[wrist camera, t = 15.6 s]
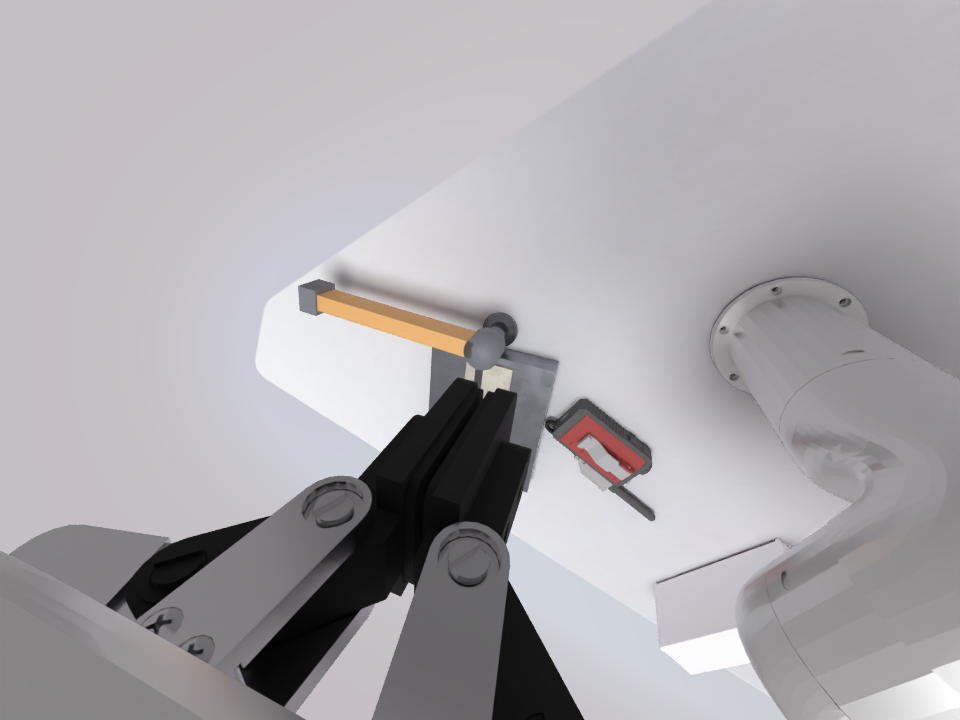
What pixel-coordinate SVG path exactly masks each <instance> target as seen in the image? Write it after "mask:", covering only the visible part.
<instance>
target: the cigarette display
mask: <svg viewBox="0 0 960 720" xmlns="http://www.w3.org/2000/svg"><path fill="white" fill-rule="evenodd" d="M788 550H789V548H788V547H787V546H786V545H785V544H784V543H783V542H782V541H780V540H779V539H778V538H777V539H775V541H774V542H771V543H769V544H766V545H763V546H760V547H758V548H755V549H752V550H749V551H747V552H744V553H741V554H738V555H736V556H733V557H730V558H727V559H725V560H722V561H719V562H716V563H714V564H711V565H708V566H705V567H703V568H700V569H697V570H694V571H692V572H689V573H686V574H683V575H680V576H678V577H675V578H672V579H669V580H667V581H664V582H661V583H657V582H655V583H654V588H655V600H656V613H657V625H658V637H659V648H660V649H661V650H662V651H663V652H664V653H667V654H668V655H669V656H671V657H672V658H673V659H674V660H675V661H676V662H677V663H678V664H679V665H681V666H682V667H683V668H684V669H685V670H686V671H687V672H688V673H690V674H691V675H692V674H697V673H702V672H707V671H712V670H717V669H722V668H727V667H732V666H737V665H742V664H747V663H751V662H750V660H749V658H748V656H747V654H746V652H745V650H744V647H743V645H742V642H741V639H740V637H739V633H738V630H737V625H736V619H735V604H736V599H737V596H738V594H739V592H740V590H741V588H742V586H743V585H744V584H745V583H746V582H747V580H748V579H749V578H750V577H751V576H753V575H754V574H755V573H756V572H758V571H759V570H760V569H761V568H763V567H764V566H766V565H767V564H769V563H770V562H772V561H773V560H775V559H776V558H777V557H779V556H780V555H782V554H783V553H785V552H786V551H788Z"/></svg>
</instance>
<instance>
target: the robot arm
mask: <svg viewBox="0 0 960 720" xmlns="http://www.w3.org/2000/svg"><path fill="white" fill-rule="evenodd" d="M774 287H777V288H776V290H774V291H771V290H772V289H773V288H774ZM842 299H843V301H842V302H840V301H841V300H842ZM839 302H840V303H839ZM723 326H725V328H724V329H723V330H721V329H720V328H721V327H723ZM710 352H711V357H712V360H713V362H714V364H715V367H716V368H717V370H718V371H719V373H720V374H721V376H722V377H723V378H724V379H725V380H726V381H727V382H728V383H730V384H731V385H733V386H734V387H736V388H738V389H739V390H742V391H744V392H746V393H749V394H752V395H753V396H754V398H755V400H756V401H757V403H758V405H759V406H760V408H761V410H762V411H763V413H764V414H765V416H766V418H767V419H768V421H769V423H770V424H771V426H772V427H773V429H774V431H775V432H776V434H777V436H778V437H779V439H780V440H781V442H782V444H783V445H784V447H785V449H786V451H787V452H788V454H789V455H790V457H791V459H792V460H793V461H794V463H795V464H796V465H797V467H798V468H799V469H800V470H801V471H802V472H803V473H804V474H805V475H806V476H807V477H808V478H809V479H810V480H811V481H813V482H814V483H815V484H817V485H818V486H820V487H821V488H823V489H824V490H826V491H828V492H830V493H831V494H833V495H835V496H837V497H839V498H842V499H844V500H846V501H849V502H851V503H853V504H852V505H851V506H849V507H848V508H847V509H845V510H844V511H842V512H841V513H840V514H838V515H837V516H835V517H834V518H832V519H831V520H829V522H828V524H827V525H825V526H824V527H822V528H821V529H819V530H818V531H816V532H815V533H813V534H812V535H810V536H809V537H807V538H806V539H804V540H803V541H801V542H800V543H798V544H797V545H795V546H794V547H792V548H791V549H789V550H788V551H786V552H785V553H783V554H782V555H780V556H779V557H777V558H776V559H775V560H773V561H772V562H770V563H769V564H767V565H766V566H764V567H763V568H761V569H760V570H759V571H758V572H756V573H755V574H754V575H753V576H751V577H750V578H749V579H748V580H747V582H746V583H745V584H744V585H743V586H742V588H741V590H740V592H739V594H738V596H737V599H736V604H735V619H736V625H737V630H738V633H739V637H740V639H741V642H742V645H743V647H744V650H745V652H746V654H747V656H748V658H749V660H750V662H751V664H752V666H753V668H754V670H755V672H756V674H757V675H758V677H759V679H760V680H761V682H762V684H763V685H764V687H765V688H766V690H767V691H768V693H769V694H770V696H771V697H772V699H773V700H774V702H775V703H776V705H777V706H778V708H779V709H780V711H781V712H782V714H783V715H784V716H785V718H786V719H787V720H960V380H959V379H957V378H955V377H954V376H952V375H950V374H948V373H947V372H945V371H943V370H941V369H939V368H937V367H936V366H934V365H932V364H931V363H929V362H927V361H926V360H924V359H922V358H920V357H919V356H917V355H915V354H914V353H912V352H910V351H909V350H907V349H905V348H903V347H902V346H900V345H898V344H897V343H895V342H893V341H892V340H890V339H888V338H886V337H885V336H883V335H881V334H880V333H878V332H876V331H875V330H873V329H871V328H870V327H869V320H868V317H867V314H866V312H865V309H864V307H863V306H862V305H861V304H860V302H859V301H858V300H857V298H855V297H854V296H853V295H852V294H850V293H849V292H848V291H847V290H845V289H843V288H841V287H839V286H837V285H835V284H832V283H829V282H827V281H824V280H820V279H814V278H808V277H791V278H784V279H778V280H774V281H770V282H767V283H764V284H761V285H759V286H756V287H754V288H752V289H750V290H748V291H746V292H745V293H743V294H742V295H740V296H739V297H737V298H736V299H735V300H734V301H733V302H731V303H730V304H729V305H728V306H727V307H726V308H725V309H724V311H723V312H722V313H721V315H720V316H719V317H718V319H717V321H716V323H715V325H714V327H713V329H712V333H711V337H710ZM731 374H734V375H731ZM483 394H484V390H483V389H480V388H478V383H477V382H474V381H471V380H467V379H463V378H459V377H457V378H456V379H455V380H454V382H453V383H452V384H451V385H450V386H449V388H448V389H447V390H446V391H445V392H444V394H443V395H442V396H441V397H440V398H439V399H438V401H437V402H436V403H435V404H434V405H433V407H432V408H431V409H430V410H429V411H428V413H427V414H426V415H425V416H421V415H415V416H414V417H412V418H411V419H410V421H409V422H408V423H407V424H406V425H405V426H404V427H403V428H402V430H401V431H400V432H399V433H398V434H397V435H396V436H395V437H394V439H393V440H392V441H391V442H390V443H389V444H388V445H387V446H386V448H385V449H384V450H383V451H382V452H381V453H380V454H379V456H378V457H377V458H376V459H375V460H374V461H373V462H372V463H371V465H370V466H369V467H368V468H367V469H366V470H365V471H364V473H363V474H362V475H361V476H360V477H359V478H358V479H356V478H354V477H350V476H334V477H328V478H325V479H323V480H320V481H317V482H316V483H314V484H312V485H311V486H309V487H308V488H306V489H305V490H304V491H302V492H301V493H300V494H298V495H297V496H296V497H295V498H293V499H292V500H291V501H289V502H288V503H287V504H285V505H284V506H283V507H282V508H280V509H279V510H278V511H276V512H275V513H274V514H273V515H271V516H268V517H265V518H260V519H257V520H253V521H249V522H246V523H242V524H238V525H234V526H230V527H227V528H223V529H220V530H215V531H212V532H208V533H204V534H200V535H197V536H193V537H189V538H186V539H183V540H180V541H178V542H175V543H171V541H170V539H169V538H167V537H161V536H154V535H147V534H141V533H134V532H127V531H121V530H114V529H108V528H101V527H94V526H87V525H68V526H64V527H60V528H56V529H53V530H50V531H48V532H45V533H43V534H41V535H39V536H36V537H35V538H33V539H31V540H29V541H28V542H26V543H25V544H23V545H22V546H20V547H18V548H17V549H16V550H14V551H13V552H12V553H11V554H9V555H8V554H6V553H4V552H1V551H0V720H305V719H303V718H302V717H300V716H298V715H297V714H295V713H296V712H297V710H298V709H299V708H300V706H301V705H302V704H303V702H304V701H305V700H306V698H307V697H308V696H309V694H310V693H311V692H312V691H313V689H314V688H315V687H316V685H317V684H318V683H319V681H320V680H321V679H322V677H323V676H324V675H325V673H326V672H327V671H328V669H329V668H330V667H331V665H332V664H333V663H334V661H335V660H336V659H337V657H338V656H339V655H340V653H341V652H342V651H343V650H344V648H345V647H346V645H347V644H348V643H349V642H350V640H351V639H352V638H353V636H354V635H355V634H356V632H357V631H358V630H359V628H360V627H361V626H362V625H363V623H364V622H365V621H366V619H367V618H368V617H369V615H370V613H371V611H372V609H373V607H374V604H375V603H378V602H380V601H383V600H385V599H386V598H387V597H388V595H389V593H390V592H392V593H394V594H396V595H399V596H401V595H402V594H403V591H404V590H405V588H406V586H407V584H408V582H409V583H411V584H413V585H414V597H413V599H412V602H411V605H410V608H409V611H408V614H407V617H406V620H405V623H404V626H403V629H402V632H401V635H400V638H399V641H398V644H397V647H396V650H395V653H394V656H393V658H392V661H391V665H390V667H389V671H388V673H387V676H386V679H385V682H384V685H383V688H382V691H381V694H380V697H379V700H378V703H377V706H376V709H375V712H374V715H373V718H372V720H584V718H583V717H582V715H581V713H580V711H579V709H578V707H577V706H576V704H575V702H574V700H573V698H572V696H571V695H570V693H569V691H568V689H567V687H566V685H565V683H564V682H563V680H562V678H561V676H560V674H559V672H558V670H557V669H556V667H555V665H554V663H553V661H552V659H551V657H550V656H549V654H548V652H547V650H546V648H545V646H544V645H543V643H542V641H541V639H540V637H539V635H538V634H537V632H536V630H535V628H534V626H533V624H532V622H531V621H530V619H529V617H528V615H527V614H526V611H525V610H524V608H523V606H522V604H521V602H520V600H519V598H518V597H517V595H516V593H515V591H514V589H513V587H512V586H511V584H510V582H509V580H508V577H509V569H510V557H509V552H508V549H507V547H506V543H507V539H508V537H509V533H510V530H511V527H512V524H513V521H514V518H515V515H516V511H517V508H518V505H519V502H520V499H521V495H522V492H523V488H524V484H525V480H526V476H527V472H528V467H529V463H530V458H531V453H532V449H530V448H527V447H524V446H520V445H517V444H514V443H510V436H511V431H512V425H513V419H514V414H515V408H516V402H517V393H516V392H512V391H508V390H504V389H501V388H497V389H496V390H495V392H491V391H488V392H487V393H486V395H485V397H484V398H483Z"/></svg>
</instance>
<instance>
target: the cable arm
mask: <svg viewBox="0 0 960 720" xmlns="http://www.w3.org/2000/svg"><path fill="white" fill-rule="evenodd" d="M298 290H299V304H300V311H302V312H306V313H309V314H312V315H315V316H317V315H319V314H322V313H327V314H330V315H333V316H336V317H339V318H342V319H346V320H349V321H352V322H355V323H358V324H361V325H364V326H368V327H371V328H374V329H377V330H380V331H383V332H386V333H390V334H393V335H396V336H399V337H402V338H405V339H409V340H412V341H415V342H418V343H421V344H424V345H427V346H431V347H434V348H437V349H440V350H443V351H446V352H449V353H453V354H456V355H459V356H462V357H465V359H466V361H467V362H468V364H469V365H470V366H472V367H473V368H475V369H477V370H489V369H491V368H492V367H494V366H495V364H496V363H497V361H498V360H499V359H500V357H501V356H502V354H503V353H504V351H505V340H504V338H503V336H502V335H501V334H500V333H499V332H498V331H497V330H495V329H493V328H482V329H479V330H478V331H477V332H475V331H472V330H468V329H465V328H462V327H458V326H455V325H452V324H448V323H445V322H442V321H438V320H435V319H432V318H428V317H425V316H422V315H418V314H415V313H412V312H408V311H405V310H401V309H398V308H395V307H391V306H388V305H385V304H381V303H378V302H375V301H371V300H368V299H365V298H361V297H358V296H355V295H351V294H348V293H345V292H341V291H338V290H335V284H333V283H330V282H326V281H323V280H320V279H318V280H315V281H312V282H309V283H306V284H303V285H300V286H298Z"/></svg>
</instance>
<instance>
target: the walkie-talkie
mask: <svg viewBox="0 0 960 720" xmlns="http://www.w3.org/2000/svg"><path fill="white" fill-rule="evenodd" d="M549 424H552V425H554V429H552V428H551V427H550V426H549ZM545 428H546V429H547V430H548V431H549V432H550V433H551V434H552V435H553V437H554V438H555V439H556V440H557V441H559V443H561V444H563V446H565V447H566V448H568V449H569V450H570V451H571V452H572V453H573V454H574V455H575V456H574V458H575V459H577V460H578V463H579V466H580V470H581V473H582V474H583V475H584V476H586V477H587V478H588V479H589V480H591V481H592V482H593V483H594V484H596V485H597V486H598V487H599V489H601V490H602V491H605V490H606V489H609V490H610V491H612V492H613V493H616V494H617V495H618V496H619V497H621V498H622V499H623V500H624V501H626V502H627V503H628V504H630V505H631V506H632V507H633V508H635V509H636V510H637V511H638V512H640V513H641V514H642V515H643V516H645V517H646V518H647V519H648V520H650V521H654V520H655V515H654V514H653V513H652V512H650V511H649V510H648V509H647V508H645V507H644V506H643V505H642V504H640V503H639V502H638V501H636V500H635V499H634V498H633V497H631V496H630V495H629V494H628V493H626V492H625V491H624V490H623V489H621V488H620V487H619V486H622V485H624V484H625V483H626V484H628V483H629V482H630V480H631V479H633V478H634V477H636V476H637V475H638V474H642V475H643V474H646V473H648V472H649V471H650V469H651V468H652V457H651V450H650V448H648V447H647V446H646V445H645V444H643V443H642V442H641V441H640V440H638V439H637V438H636V437H635V436H633V435H632V434H631V433H630V432H628V431H627V430H626V429H625V428H622V426H621V425H618V423H616V422H615V420H612V418H611V417H608V415H606V414H605V413H604V412H602V410H600V409H598V407H596V406H595V405H593V404H592V402H590V401H588V399H580V400H579V401H578V402H577V403H576V404H575V405H574V406H573V407H572V408H571V409H569V410H568V411H567V412H566V413H565V414H564V415H563V416H562V417H561V418H560V419H558V420H557V421H554V420H548V421H546V424H545Z"/></svg>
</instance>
